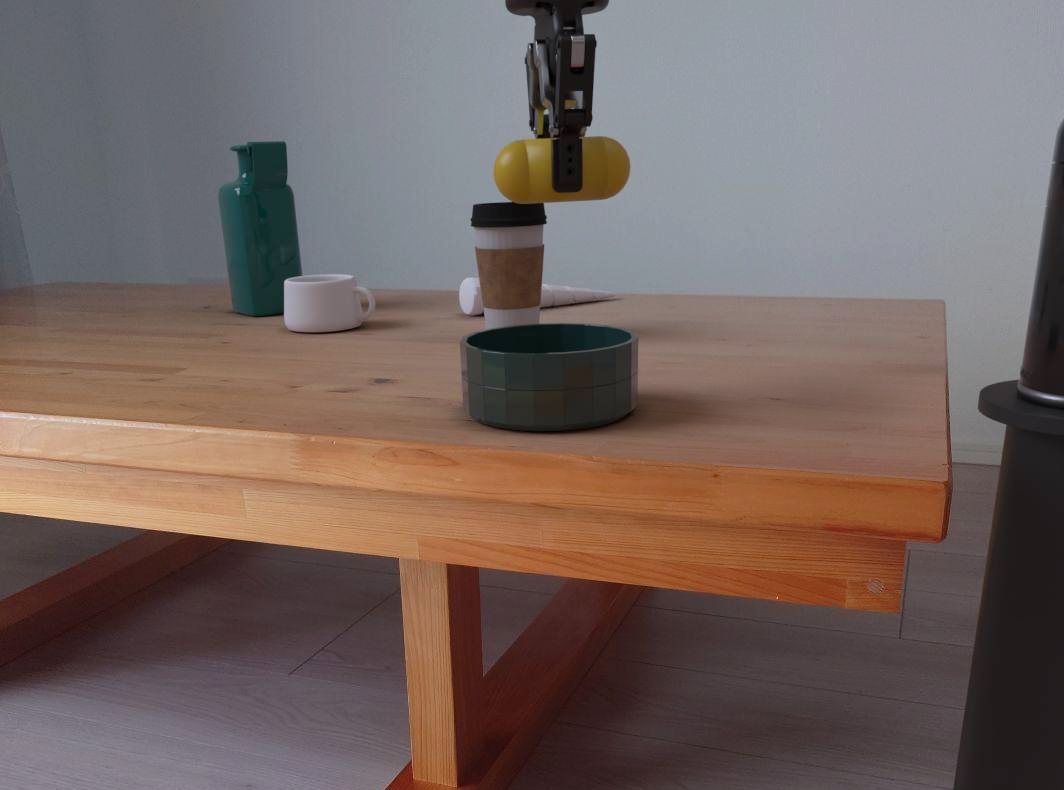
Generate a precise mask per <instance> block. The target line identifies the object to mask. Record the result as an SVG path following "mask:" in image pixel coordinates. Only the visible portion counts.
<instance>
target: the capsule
mask: <svg viewBox="0 0 1064 790" xmlns="http://www.w3.org/2000/svg"><path fill="white" fill-rule="evenodd" d="M551 139H557V138H547V139H535V138H527V139H526V138H525V139H517V140H513V141H511V142H509V143H508V144H505V146H504V147H503V148H501V150H500V151H499V152H498V154H497V156H496V157H495V160H494V163H493V164H494V165H493V171H492V172H493V175H492V176H493V180H494V183H495V186H496V188H497V189H498V191H499V192H500V194H501V195H502V196H503V197H504V198H506V199H507V200H508V201H509V202H515V203H519V204H533V203H544V204H548V203H549V204H550V203H568V202H569V203H571V202H587V201H603V200H607V199H610V198H613V197H615V196H616V195H618V194H619V193H621V191H622V190H623V189H624V188H625V187H626V185H627V183H628V181H629V178H630V175H631V160H630V157H629V153H628V151H627V149H626V148H625V147H624V146H623V145H622V144H621V142H619V141H618V140H616V139H614V138H612V137H608V136H603V135H602V136H601V135H596V136H594V135H593V136H585V137H579V139H582V156H583V187H582V189H581V190H580V191H579V192H569V193H558V192H555V191H554V190H553V189H552V167H551Z"/></svg>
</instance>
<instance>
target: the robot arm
mask: <svg viewBox="0 0 1064 790" xmlns="http://www.w3.org/2000/svg"><path fill="white" fill-rule="evenodd" d="M504 4H505V8H506V10H507V11H508V12H509V13H511V14H513V15H515V16H520V17H531V18H533V19H534V28H533V29H534V32H533V42H528V43H527V46H526V47H527V48H526V54H525V57H524V65H525V70H526V71H525V73H526V85H527V86H526V87H527V99H528V101H527V102H528V115H529V116H528V117H529V120H528V125H529V129H530V131H531V132H532V133H533V135H534V139H547V138H557V139H551V167H552V189H553V190H554V191H555V192H558V193H569V192H579V191H580V190H581V189H582V187H583V156H582V139H579V137H586V132H588V131H587V130H588V127H589V128H590V127H591V125H592V121H593V118H594V117H593V103H594V101H593V100H594V87H595V85H594V83H595V68H596V67H595V66H596V65H595V64H596V49H597V46H598V45H597V44H598V41H597V39H596V35H595V34H594V33H585V28H584V22H583V21H584V20H583V16H584V15H591V14H596V13H600V12H603V11H604V10H606V8H607V7H608V6H609V4H610V0H504ZM546 110H547V111H548V113H547V114H546V113H545V112H546ZM1054 140H1055V141H1054V146H1053V153H1052V159H1051V160H1052V162H1053V163H1052V164H1051V166H1050V172H1049V179H1048V187H1047V193H1046V200H1045V207H1044V213H1043V221H1042V226H1041V233H1040V241H1039V248H1038V252H1037V253H1038V254H1037V261H1036V267H1035V274H1034V282H1033V286H1032V287H1033V288H1032V295H1031V300H1030V307H1029V308H1030V309H1029V315H1028V321H1027V328H1026V334H1025V340H1024V349H1023V356H1022V363H1021V366H1020V372H1019V379H1017V380H1018V385H1017V392H1016V395H1017V396H1018V397H1019V398H1020V399H1022V400H1024V401H1027V402H1030V403H1032V404H1036V405H1040V406H1044V407H1049V408H1054V409H1061V410H1064V118H1062V120H1061V122H1060V123H1059V126H1058V128H1057V131H1056V135H1055V139H1054Z"/></svg>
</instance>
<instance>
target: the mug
mask: <svg viewBox="0 0 1064 790" xmlns="http://www.w3.org/2000/svg"><path fill="white" fill-rule="evenodd" d="M360 294H361V295H364V296H365V297H366V298H367V300H368V308H367V310H366V312H363V308H362V304H361V299H360ZM375 310H376V299H375V297H374V294H373V293H372V292H371V291H370V290H369V289H368V288H366V287H365V286H358V283H357V279H356V276H354V275H353V274H351V275H350V274H342V273H329V274H328V273H325V274H309V275H302V276H299V277H293V278H289V279H286V280H285V281H284V314H283V321H284V325H285V327H286V328H287V329H288V331H292V332H298V333H299V332H300V333H331V332H332V333H333V332H340V331H346V330H351V329H355V328H358V327H360V326H361V325H362V323H363V322H364V321H367V320H368V319H370V318H372V316H373V315H374V314H375Z"/></svg>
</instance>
